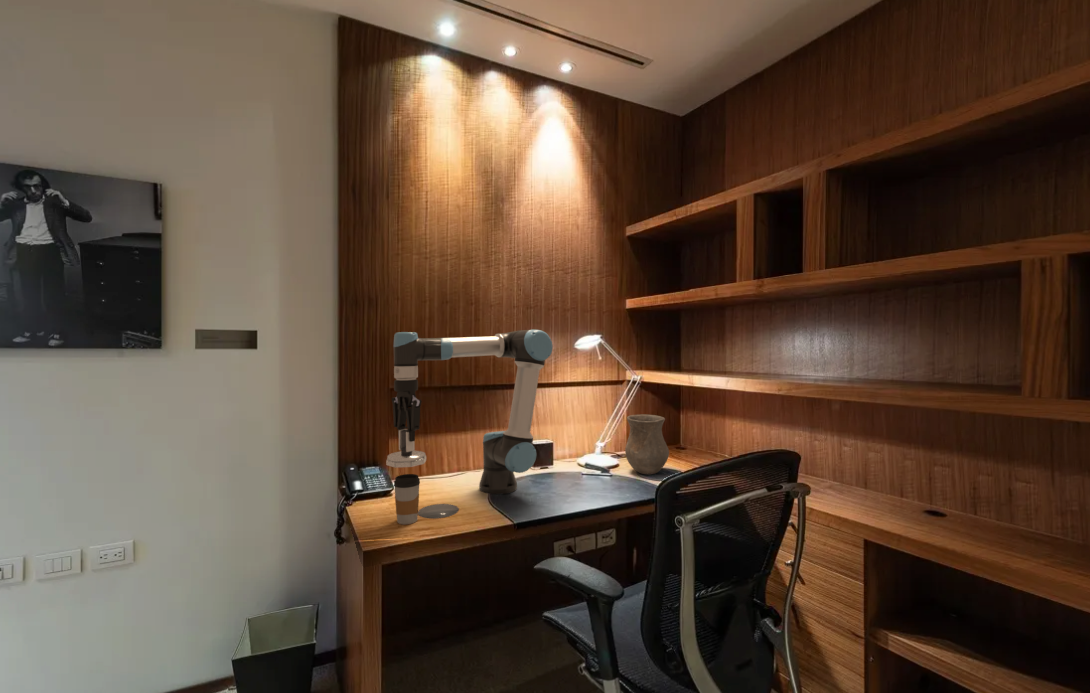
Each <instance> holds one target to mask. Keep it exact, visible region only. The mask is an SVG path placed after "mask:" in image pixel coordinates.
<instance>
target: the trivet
mask: <svg viewBox="0 0 1090 693" xmlns="http://www.w3.org/2000/svg"><path fill="white" fill-rule="evenodd" d="M459 511H460V508H459V507H458V506H457V505H454V504H452V503H451V504H450V503H436V504H431V505H430V504H429V505H427V506H423V507H422V508H419V509H418V517H421V518H424V519H433V520H436V519H437V520H438V519H443V518H449V517H452V516H453V515H456V514H457V513H458V512H459Z"/></svg>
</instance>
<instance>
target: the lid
mask: <svg viewBox="0 0 1090 693" xmlns="http://www.w3.org/2000/svg"><path fill="white" fill-rule="evenodd" d="M426 461H427V455H426V452H425V451H421V450H414V451H410V452H406V430H402V431H401V450H399V451H396V452H392V453H389V454H388V455H387V459H386V462H385V463H386V466H388V467H392V468H395V469H396V468H413V467H417V466H421V465H425V464H426Z"/></svg>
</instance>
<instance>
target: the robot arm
mask: <svg viewBox="0 0 1090 693" xmlns="http://www.w3.org/2000/svg"><path fill="white" fill-rule="evenodd" d="M393 336H394V337H393V367H394V368H393V374H394V375H393V378H394V379H395V380H394V381H393V390H394V392H396V397H395V396H394V397H391V402H392V414H393V427H394V428H396V429H397V431H398V433H397V435H398V436H397V437H398V450H399V451H401V431H402V430H406V452H410V451H416V450H415V441H416V431H417V430H420V425H421V423H420V422H421V421H420V420H421V405H422V399H418V398H417V396H416V392H417V391H418V390H419V380H418V379H417V378H419V367H418V365H419V364H418V363H419V362H420V361H445V360H446V361H448V360H450V359H451V358H465V357H466V358H468V357H483V356H485V357H486V356H495V357H497V358H508V359H509V358H510V359H514V364H515V365H516V366H517V369H516V375H515V382H514V389H513V395H512V402H511V406H510V407H511V408H510V414H509V420H508V425H507V429H506V430H499V431H498V430H497V431H491V432H486V433H485V434H484V435H483V438H482V439H483V440H482V449H483V451H482V453H483V456H482V457H483V458H482V459H483V461H482V462H483V471H482V474H481V478H480V481H479V484H478V485H479V486H478V487H479V491H480V492H482V493H484V494H491V495H500V494H501V495H506V494H507V495H508V494H510V493H513V492H515V491H516V490H518V484H517V479H516V476H515V473H517V474H521V473H525V472H528V471H529V470H530V469H531V468H532V467H533V466H534V464H535V462H536V459H537V450H536V448H535V446H534V445H533V442H534V436H533V434H532V433H531V428H532V421H533V416H534V409H535V402H536V396H537V391H538V390H537V389H538V383H539V376H540V371H541V370H542V369H543V368H544V367H545V363H546V360H547V359H548V358H549V357H550V356H551V354H552V352H553V345H554V344H553V342H552V339H551V337H550V336H549V334H548V333H547V332H545V331H543V330H540V329H525V330H522V329H521V330H520V329H518V330H514V331H510V332H509V331H508V332H503V333H495V335H493V336H491V335H489V336H465V337H463V336H462V337H460V336H458V337H436V338H435V337H429V338H428V337H427V338H426V337H425V338H424V337H423V338H421V337H419V336H418V332H415V331H413V332H411V331H409V332H408V331H401V332H400V331H399V332H395V333H394V335H393ZM418 361H419V362H418Z"/></svg>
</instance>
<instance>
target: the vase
mask: <svg viewBox="0 0 1090 693" xmlns="http://www.w3.org/2000/svg"><path fill="white" fill-rule="evenodd" d="M626 420H627V422H628V424H629V428H630V429H629V435H628V438H627V442H626V444H625V450H624V452H625V453H624V454H625V457H626V461H627V462H628V464H629V465H630V467H631V468H632V469H633V470H634V471H636V472H637V473H639V474H641V475H654V474H657V473H659V472H660V471H661V469H663V468H664V466H665V465H666V463H667V461H668V459H669V456H670V451H669V450H670V448H668V445H667V443H666V441H665V438H664V436H663V431H662V430H663V429H662V428H663V426H664V422H665V420H666V418H665V417H663V416H660V415H657V414H656V415H655V414H631V415H628V416H627V417H626Z"/></svg>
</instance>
